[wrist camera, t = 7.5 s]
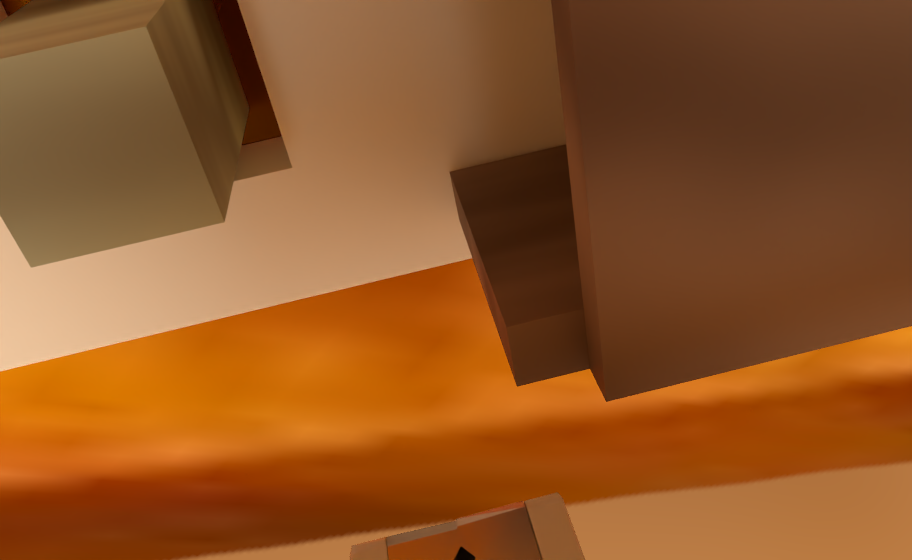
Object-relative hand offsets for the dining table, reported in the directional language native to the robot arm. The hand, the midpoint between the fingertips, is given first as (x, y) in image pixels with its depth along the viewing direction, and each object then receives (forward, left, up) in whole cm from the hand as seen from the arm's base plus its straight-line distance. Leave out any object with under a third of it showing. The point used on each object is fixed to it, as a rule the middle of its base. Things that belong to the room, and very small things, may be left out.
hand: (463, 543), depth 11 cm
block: (-4, -5, -14) cm, 16 cm away
